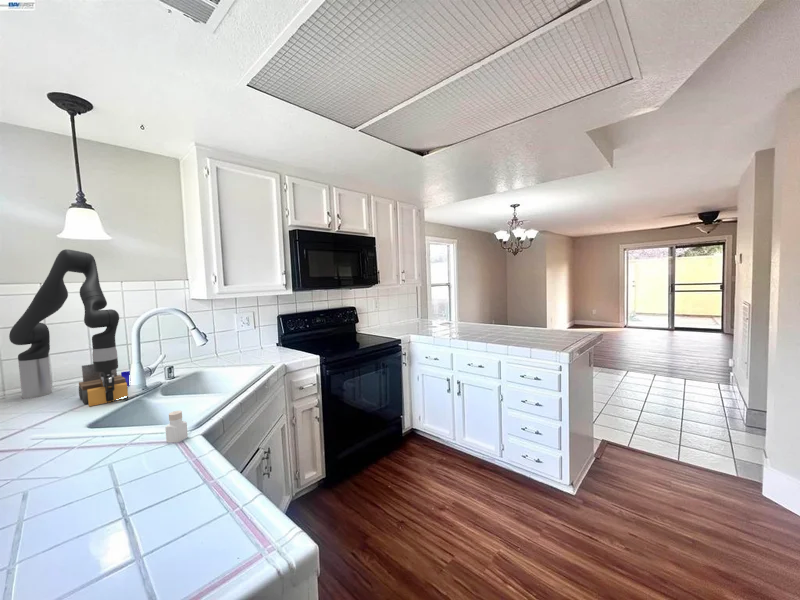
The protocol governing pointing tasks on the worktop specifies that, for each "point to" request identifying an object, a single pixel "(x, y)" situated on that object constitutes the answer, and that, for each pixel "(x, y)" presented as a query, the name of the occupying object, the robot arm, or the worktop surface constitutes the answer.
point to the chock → (99, 394)
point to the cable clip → (126, 376)
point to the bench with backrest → (94, 381)
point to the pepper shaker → (176, 428)
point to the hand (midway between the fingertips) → (108, 399)
